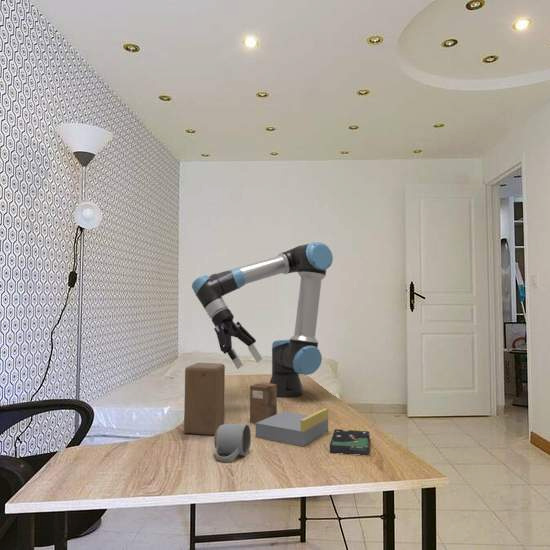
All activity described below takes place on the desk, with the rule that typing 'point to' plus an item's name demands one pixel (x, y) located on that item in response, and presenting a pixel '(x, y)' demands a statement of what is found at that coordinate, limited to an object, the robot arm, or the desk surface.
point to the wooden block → (204, 398)
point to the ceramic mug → (232, 441)
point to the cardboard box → (262, 401)
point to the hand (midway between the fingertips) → (250, 363)
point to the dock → (293, 427)
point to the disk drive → (350, 442)
